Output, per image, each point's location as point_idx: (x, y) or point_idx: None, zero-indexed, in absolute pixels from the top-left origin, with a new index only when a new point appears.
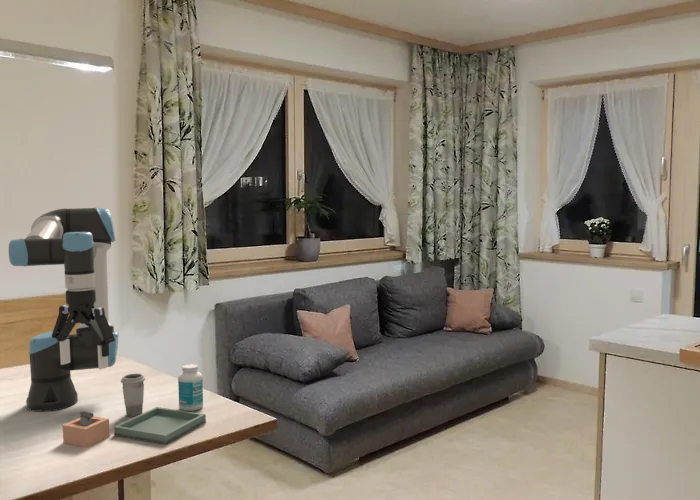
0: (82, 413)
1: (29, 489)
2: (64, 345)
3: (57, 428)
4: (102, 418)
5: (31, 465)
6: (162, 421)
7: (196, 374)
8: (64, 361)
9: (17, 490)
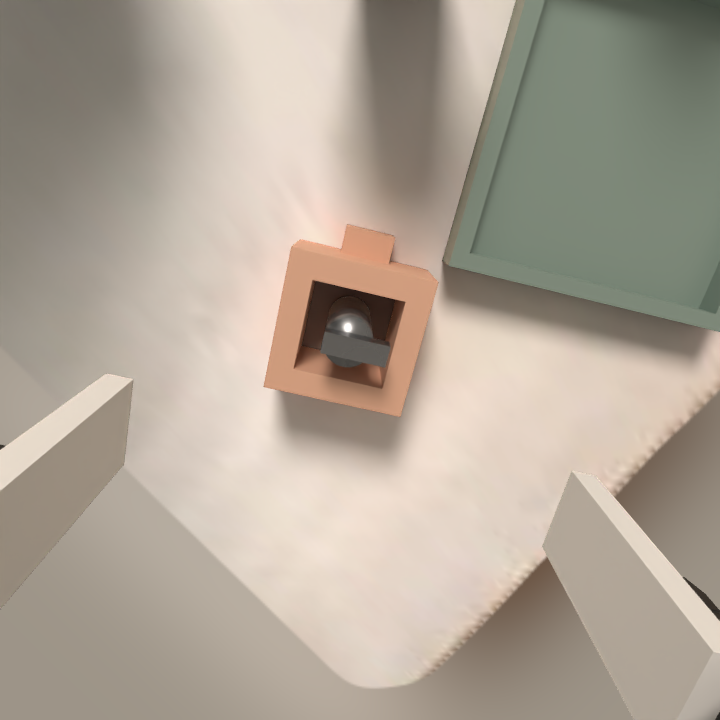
0: (336, 356)
1: (399, 663)
2: (16, 552)
3: (134, 214)
4: (403, 282)
5: (296, 541)
6: (618, 83)
7: None
8: (114, 457)
9: (370, 671)
